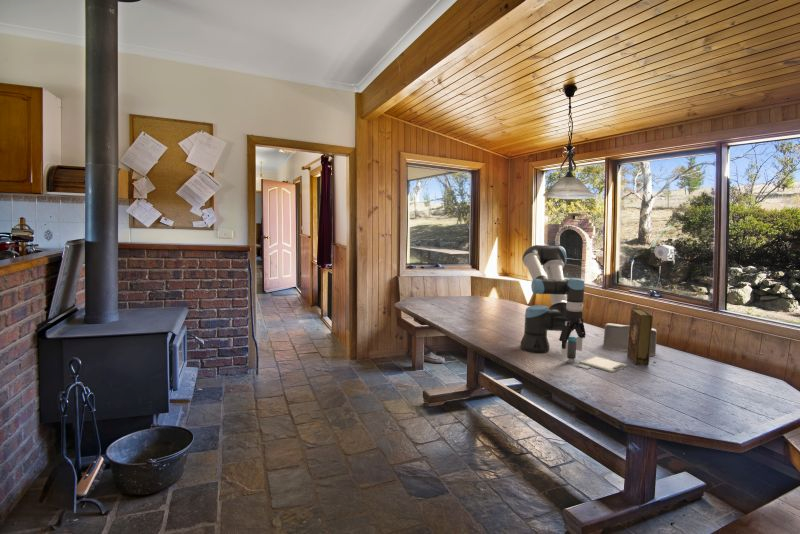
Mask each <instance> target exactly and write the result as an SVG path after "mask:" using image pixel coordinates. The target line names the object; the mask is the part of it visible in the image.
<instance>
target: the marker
mask: <svg viewBox="0 0 800 534" xmlns="http://www.w3.org/2000/svg"><path fill="white" fill-rule="evenodd" d="M567 342H568V350H567V356H566V358H567V362H568V363H575V360H576V358H577V357H576V356H577V350H576V345H577V337H576V336H569V338H568V340H567Z"/></svg>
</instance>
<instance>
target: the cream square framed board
mask: <svg viewBox="0 0 800 534" xmlns="http://www.w3.org/2000/svg"><path fill="white" fill-rule="evenodd" d="M579 364H583V365H586V366H590V367H591V366H592V368H596V369H599V370H602V371H605V372H610V373H614V372H617V371H619V370H622V369H624V368H626V367H628V364H627V363H623V362H619V361H615V360H612V359H608V358H603V357H601V356H596V355H594V356H591V357H589V358H586V359H584V360H583V359H582V360H581V361H579ZM621 368H622V369H621Z"/></svg>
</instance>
